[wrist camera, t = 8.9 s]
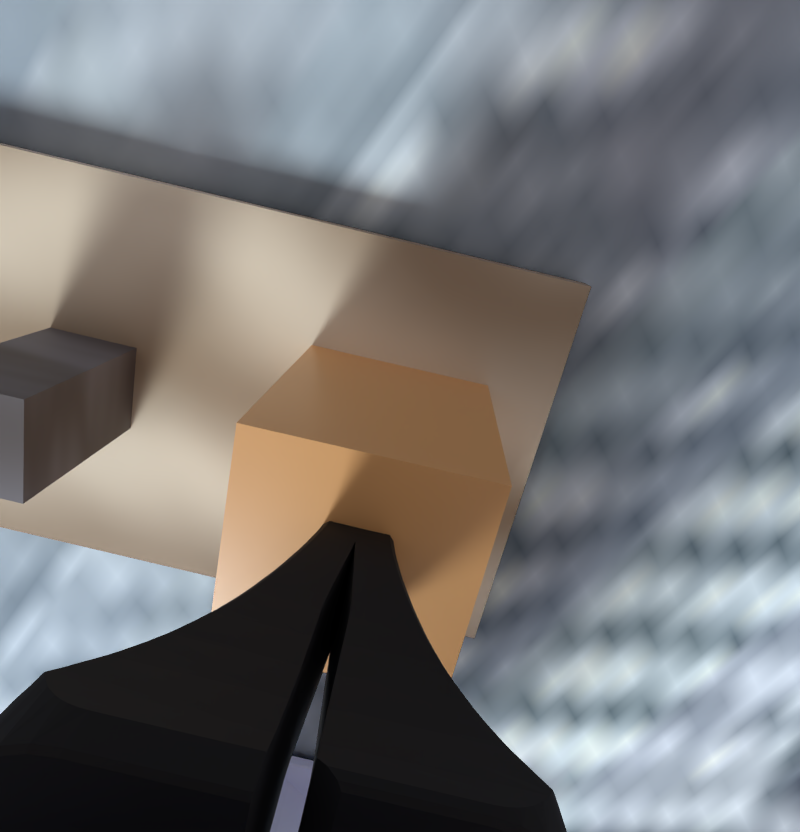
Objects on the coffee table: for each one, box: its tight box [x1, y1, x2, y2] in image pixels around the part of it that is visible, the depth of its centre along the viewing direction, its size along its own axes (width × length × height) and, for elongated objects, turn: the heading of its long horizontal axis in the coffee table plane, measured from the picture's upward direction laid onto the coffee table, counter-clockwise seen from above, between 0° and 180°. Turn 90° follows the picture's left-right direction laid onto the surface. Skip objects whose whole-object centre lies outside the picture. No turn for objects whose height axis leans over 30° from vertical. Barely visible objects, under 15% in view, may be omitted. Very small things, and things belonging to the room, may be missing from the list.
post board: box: [0, 143, 591, 638], centre depth 16 cm, size 12×18×6 cm, turn 78°
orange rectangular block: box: [211, 345, 512, 678], centre depth 15 cm, size 5×5×7 cm
